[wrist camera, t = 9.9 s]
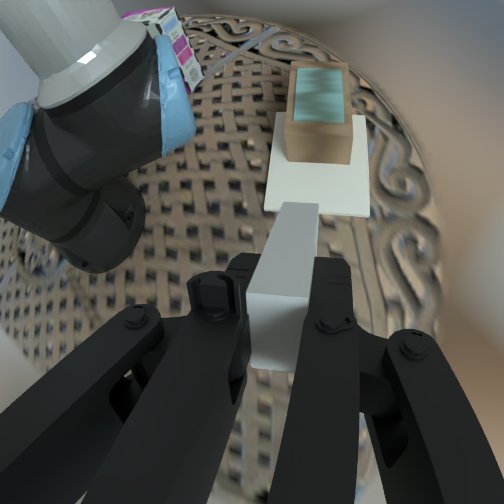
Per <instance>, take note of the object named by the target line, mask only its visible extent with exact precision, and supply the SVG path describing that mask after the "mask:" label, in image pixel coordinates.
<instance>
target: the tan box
mask: <svg viewBox="0 0 504 504" xmlns="http://www.w3.org/2000/svg"><path fill="white" fill-rule="evenodd" d="M284 137H285V143H286V148H287V154H288V160H289V162H305V163H325V164H342V165H350V160H351V152H352V144H353V121H352V105H351V93H350V81H349V71H348V63H341V62H317V61H291V69H290V79H289V90H288V100H287V110H286V120H285V129H284Z"/></svg>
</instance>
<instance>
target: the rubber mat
mask: <svg viewBox="0 0 504 504" xmlns="http://www.w3.org/2000/svg"><path fill="white" fill-rule="evenodd" d="M285 120H286V112H276V119H275V126H274V134H273V142H272V150H271V157H270V165H269V173H268V180H267V188H266V196H265V203H264V211H280V209H281V206H282V204H283V202H300V203H319V214H329V215H344V216H357V217H369V216H370V200H369V169H368V150H367V135H366V123H365V116H364V115H352V121H353V144H352V152H351V160H350V165H342V164H325V163H305V162H289V160H288V154H287V148H286V143H285V137H284V129H285Z"/></svg>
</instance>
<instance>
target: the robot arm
mask: <svg viewBox="0 0 504 504" xmlns="http://www.w3.org/2000/svg"><path fill="white" fill-rule="evenodd" d="M0 30H1V31H2V32H3V34H4V35H5V36H6V37H7V39H8V40H9V41H10V43H11V44H12V45H13V46H14V48H15V49H16V50H17V51H18V53H19V54H20V55H21V56H22V58H23V59H24V60H25V61H26V63H27V64H28V65H29V66H30V68H31V69H32V70H33V71H34V72H35V74H36V75H37V76H38V77H39V80H40V84H39V90H38V97H37V102H38V104H39V105H40V108H38V109H37V110H35V109H34V108H33V105H32V104H28V103H26V102H21V103H17V104H15V105H14V106H13V107H12V108H10V110H8V111H7V112H6V113H5V115H4V116H3V117H2V118H1V119H0V217H2V218H4V219H6V220H8V221H10V222H12V223H13V224H15V225H17V226H19V227H21V228H23V229H25V230H27V231H29V232H31V233H33V234H36V235H38V236H40V237H42V238H44V239H46V240H48V241H50V242H52V243H53V245H54V246H55V247H56V248H57V249H58V250H59V252H60V253H61V254H62V255H63V256H64V257H65V259H66V260H67V261H68V262H69V263H70V264H71V265H73V266H74V267H76V268H78V269H80V270H83V271H85V272H88V273H93V274H97V273H103V272H107V271H109V270H111V269H113V268H115V267H116V266H118V265H119V264H120V263H122V262H123V261H124V260H125V259H126V258H127V257H128V256H129V254H130V253H131V252H132V250H133V249H134V247H135V246H136V244H137V242H138V240H139V238H140V236H141V233H142V230H143V227H144V222H145V203H144V199H143V197H142V195H141V193H140V191H139V190H138V189H137V188H136V187H135V186H134V185H133V184H132V183H131V182H130V181H129V180H128V179H126V178H125V177H123V175H125V174H127V173H129V172H131V171H133V170H135V169H137V168H139V167H141V166H143V165H145V164H147V163H150V162H152V161H154V160H156V159H158V158H160V157H161V158H163V157H164V156H166V155H167V153H169V152H170V151H172V150H174V149H176V148H178V147H180V146H182V145H184V144H186V143H188V142H189V141H190V140H191V139H192V138H193V136H194V135H195V133H196V127H197V126H196V121H195V118H194V115H193V111H192V108H191V105H190V102H189V98H188V95H187V92H186V89H185V85H184V82H183V79H182V76H181V72H180V69H179V66H178V62H177V59H176V56H175V52H174V49H173V46H172V42H171V39H170V37H169V36H168V35H166V34H164V35H156V36H154V38H152V37H151V36H150V34H149V32H148V30H147V28H146V26H145V25H144V24H143V23H140V22H135V21H129V20H124V19H122V18H121V17H120V16H119V15H118V13H117V11H116V9H115V8H114V6H113V4H112V2H111V1H110V0H0ZM318 215H319V203H300V202H283V204H282V206H281V209H280V211H279V213H278V216H277V218H276V221H275V223H274V226H273V228H272V231H271V233H270V235H269V238H268V240H267V243H266V245H265V248H264V250H263V252H262V254H254V253H240V254H239V255H237V256H236V257H235V258H233V259H232V260H231V262H230V263H229V265H228V267H227V270H225V272H223V271H208V272H204V273H200V274H198V275H196V276H194V277H192V278H191V279H190V280H189V281H188V282H187V289H188V294H189V299H190V304H191V311H190V312H189V314H188V315H187V316H181V317H171V318H161V315H160V313H159V311H158V309H157V308H155V307H153V306H152V305H147V304H137V305H133V306H130V307H127V308H125V309H123V310H122V311H120V312H119V313H118V314H116V315H115V316H114V317H113V318H111V319H110V320H109V321H108V322H107V323H105V324H104V325H103V326H102V327H100V328H99V329H98V330H97V331H96V332H94V333H93V334H92V335H91V336H90V337H88V338H87V339H86V340H85V341H84V342H82V343H81V344H80V345H79V346H78V347H76V348H75V349H74V350H73V351H72V352H70V353H69V354H68V355H67V356H66V357H65V358H63V359H62V360H61V361H60V362H59V363H58V364H56V365H55V366H54V367H53V368H52V369H51V370H49V371H48V372H47V373H46V374H45V375H44V376H42V377H41V378H40V379H39V380H38V381H37V382H36V383H34V385H32V386H31V387H30V388H29V389H28V390H26V391H25V392H24V393H23V394H22V395H21V396H20V397H19V398H18V399H16V400H15V401H14V402H13V403H12V404H11V405H10V406H9V407H7V408H6V409H5V410H4V411H3V412H2V413H1V414H0V504H75V503H76V502H77V501H78V500H79V499H80V498H81V497H82V496H83V495H84V494H85V492H86V491H87V490H88V491H87V493H86V495H85V497H84V499H83V500H82V502H81V504H206V503H207V500H208V498H209V495H210V492H211V489H212V486H213V483H214V480H215V477H216V475H217V472H218V469H219V466H220V463H221V460H222V457H223V454H224V451H225V448H226V445H227V442H228V439H229V436H230V433H231V430H232V427H233V424H234V421H235V417H236V414H237V411H238V408H239V405H240V402H241V399H242V396H243V392H244V389H245V386H246V383H247V365H248V362H249V359H251V367H253V368H261V369H269V370H277V371H286V372H295V375H294V381H293V386H292V391H291V397H290V402H289V407H288V412H287V417H286V422H285V427H284V431H283V436H282V441H281V445H280V450H279V454H278V459H277V463H276V467H275V472H274V476H273V480H272V484H271V488H270V492H269V496H268V500H267V504H354V499H355V489H356V477H357V462H358V444H359V412H362V413H364V417H365V420H366V424H367V427H368V431H369V435H370V438H371V442H372V446H373V450H374V453H375V457H376V461H377V465H378V469H379V473H380V477H381V481H382V485H383V490H384V494H385V498H386V503H387V504H504V479H503V476H502V473H501V471H500V468H499V466H498V463H497V461H496V459H495V456H494V454H493V452H492V449H491V447H490V445H489V443H488V440H487V438H486V436H485V434H484V431H483V429H482V427H481V425H480V423H479V421H478V419H477V417H476V415H475V413H474V411H473V409H472V407H471V405H470V403H469V401H468V399H467V397H466V395H465V393H464V391H463V389H462V387H461V386H460V383H459V381H458V380H457V378H456V377H455V374H454V372H453V371H452V369H451V367H450V365H449V363H448V362H447V360H446V358H445V356H444V355H443V353H442V351H441V349H440V348H439V346H438V344H437V343H436V342H435V341H434V339H433V338H432V337H431V336H429V335H428V334H426V333H424V332H422V331H419V330H415V329H402V330H399V331H396V332H395V333H393V334H392V335H391V336H390V337H389V339H385V338H382V337H379V336H375V335H373V334H370V333H368V332H367V331H365V330H363V329H362V328H361V327H360V326H359V325H358V324H357V321H356V318H355V317H354V314H353V297H352V282H351V269H350V266H349V265H348V263H347V262H346V261H345V260H344V259H342V258H328V257H316V255H317V237H318ZM130 369H131V371H132V373H131V374H130V375H129V376H127V377H124V375H125V374H126V373H127V372H128V371H129V370H130Z"/></svg>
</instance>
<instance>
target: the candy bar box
mask: <svg viewBox="0 0 504 504" xmlns="http://www.w3.org/2000/svg"><path fill="white" fill-rule="evenodd" d="M122 19H124V20H129V21H135V22H140V23H143V24H144V25H145V26H146V28H147V30H148V32H149V34H150V36H151V37H152V38H154V36H156V35H164V34H166V35H168V36H169V37H170V39H171V42H172V46H173V49H174V52H175V56H176V59H177V62H178V66H179V69H180V72H181V76H182V79H183V82H184V85H185V89H186V92H187V93H193V92H194V90H195V89H196V88H197V86H198V85H199V84H200V83H201V82H202V81H203V79H204V78H205V75H204V73H203V71H202V68H201V66H200V64H199V62H198V59H197V57H196V55H195V53H194V50H193V48H192V46H191V43H190V41H189V39H188V36H187V34H186V32H185V30H184V27H183V25H182V23H181V21H180V18H179V16H178V14H177V12H176V10H175V7H174V6H173V7H164V8H155V9H148V10H141V11H135V12H129V13H126V14H125V15H124V16H123V17H122Z"/></svg>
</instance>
